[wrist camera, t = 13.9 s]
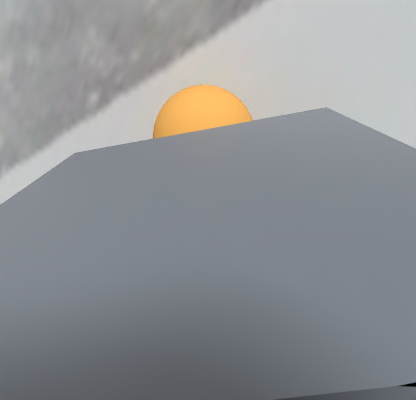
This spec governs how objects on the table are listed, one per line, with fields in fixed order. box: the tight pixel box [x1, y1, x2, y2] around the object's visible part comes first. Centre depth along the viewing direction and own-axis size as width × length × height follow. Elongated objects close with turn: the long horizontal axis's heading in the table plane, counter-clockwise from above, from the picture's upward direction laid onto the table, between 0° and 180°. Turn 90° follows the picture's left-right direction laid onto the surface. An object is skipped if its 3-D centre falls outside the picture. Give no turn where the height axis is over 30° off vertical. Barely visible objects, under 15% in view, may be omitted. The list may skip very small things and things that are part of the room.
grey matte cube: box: [0, 108, 416, 400], centre depth 8 cm, size 8×8×9 cm
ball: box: [153, 85, 252, 139], centre depth 17 cm, size 5×5×5 cm
